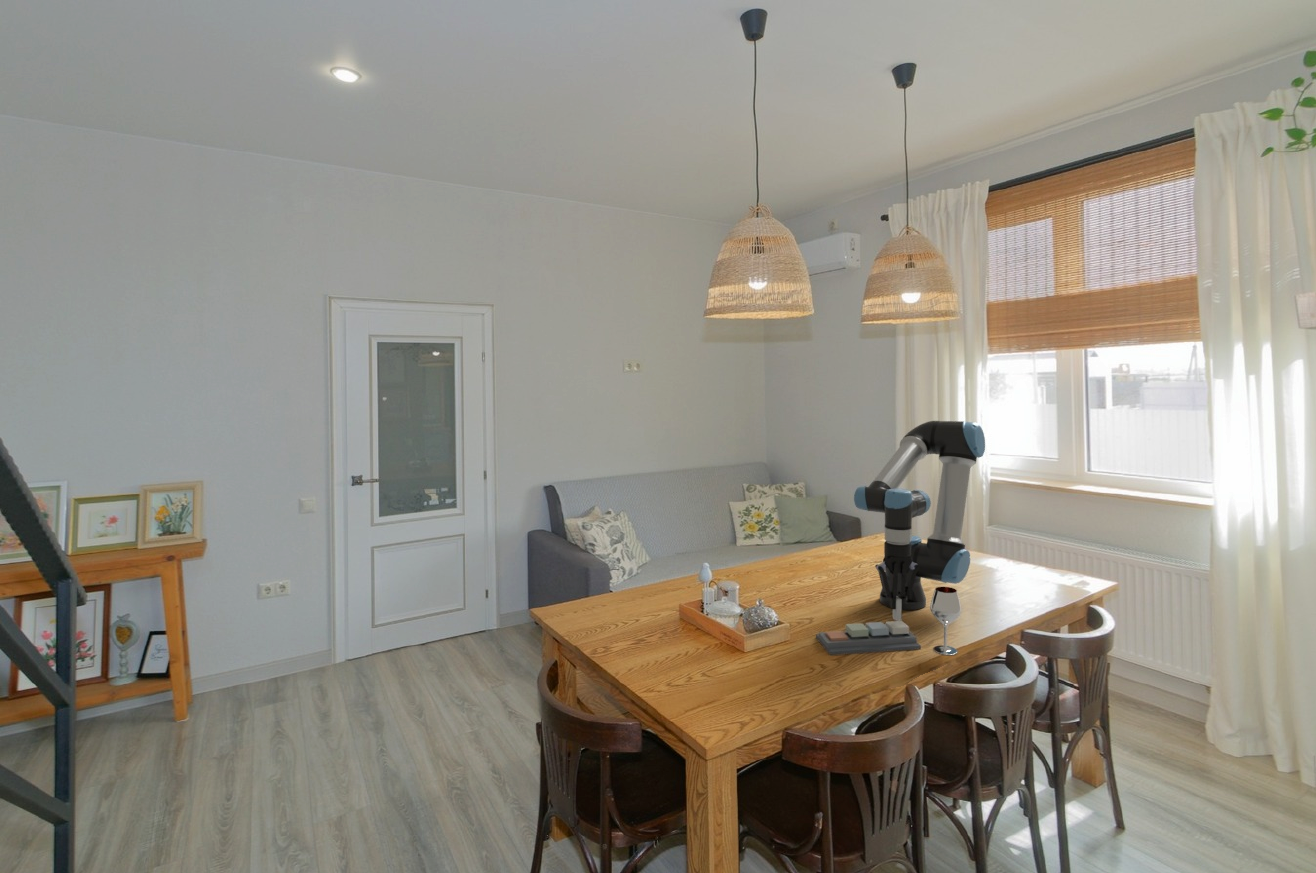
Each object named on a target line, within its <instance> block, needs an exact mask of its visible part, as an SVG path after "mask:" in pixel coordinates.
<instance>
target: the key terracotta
mask: <svg viewBox="0 0 1316 873" xmlns="http://www.w3.org/2000/svg"><path fill="white" fill-rule="evenodd" d="M842 631H843V630H837V631H836V630H835V631H825V632H826V636H827V637H828V639H829V640H830V641H842V640H848V637H847V636H846V635H845V634H844V633H843V632H842Z"/></svg>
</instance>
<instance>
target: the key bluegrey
mask: <svg viewBox="0 0 1316 873" xmlns="http://www.w3.org/2000/svg"><path fill="white" fill-rule="evenodd" d="M865 627H866V628H867V629H868V632H869V633H870V634H871V635H872V636H877V635H889V628H888V627H887V626H886V623H885V624H884V622H882V621H876V622H866V623H865Z"/></svg>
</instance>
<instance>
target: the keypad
mask: <svg viewBox="0 0 1316 873" xmlns="http://www.w3.org/2000/svg"><path fill="white" fill-rule="evenodd" d="M841 631H842V632H843V633H844V634H845V635H846V636H847V637H848V640H842V641H830V640H829V639H828V637H827V636H826V632H827V631H823V632H818V633H816V634H815V639H817V641H818V642H819V643H820V644H821V645H822V647H824V648H823V649H825V650H826V651H827V653H828V654H829V655H830V656H836V655H852V654H866V653H883V652H896V651H897V652H899V651H909V650H910V651H912V650H913V651H914V650H921V649H922V645H921V644H919V643H918V637H917V636H916V635H915V634H914V633H912V632H911V631H910V630H909V634H892V633H890V632H889V635H877V636H872V635H871V634H870V633H869V632H868V636H862V637H851V636H850V635H849V634H848V632H847V631H846V630H841Z"/></svg>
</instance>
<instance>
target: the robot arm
mask: <svg viewBox="0 0 1316 873" xmlns="http://www.w3.org/2000/svg"><path fill="white" fill-rule="evenodd" d="M985 438H986V437H985V433H984V430H983V428H982V426H981V425H980V424H979V423H977V422H973V421H972V422H970V421H966V420H964V421H961V420H960V421H957V420H955V421H954V420H953V421H952V420H950V421H949V420H948V421H947V420H931V421H926V422H924V423H921V424H919V425H917V426H916V427H914V428H912V429H911V430H909V432H907V433H906V434H905V435H904V436H903V437H902V439H901V440H900V441H899V447H898V448H897V450H896V451H895V452H894V454H893V455H892V456H891V457H890V459H889V460H888V462H886V464H885V465H884V467H883V468H882V469H881V470H880V472H879V473H878V474H877V476H876V477H875V478H874V480H873V481H872V482H871V483H870V484H869V485H868V486H867V485H865V486H858V487H857V488H856V490H855V492H854V493H853V494H854V495H853V500H854V501H853V502H854V506H855V507H856V508H857V510H862V511H866V512H873V513H875V512H876V513H881V514H884V544H883V545H884V546H883V547H884V553H883V554H884V557H883V559H882V562H881V563H880V564H875V569H876V570H877V571H878V575H879V579H880V584H881V587H882V588H881V590H880V592H879V602H880V604H882V605H883V606H886V607H887V608H890V609H891V610H892V619H893V620H894V621H902V611H914V610H922V609H923V608H924V607H926V606H927V597H926V594H925V591H924V589H923V585H922V579H926V580H931V581H937V582H942V583H944V584H953V585H955V584H959V583H962V581H963V580H964V578H965V577H966V576H967V574H968V572H969V568H970V564H971V553H970V551H969V550H968V549H966V543H965V542H964V541H963V539H962V533H963V525H964V520H965V519H964V516H965V511H966V510H965V509H966V503H967V497H968V488H969V481H970V474H971V467H973V466H974V465H976V464H977V458H981V457H983V456H984V454H985V452H986V451H985V450H986V439H985ZM927 455H939V456H938V460H939V461H940V462H941V463H942V468H941V475H940V481H939V488H938V489H939V490H938V496H937V505H936V512H935V516H934V518H935V519H934V524H933V533H932V534H931V535H930V536H928V537H927V541H926V542H923V541H922V537H920V536H918V535H912V527H913V526H912V520H913V518H916V517H920V516H923V515H924V514H926V513H927V512H928V511H929V510H930V507H931V505H932V503H931V502H932V501H931V498H930V497H929V494H927V493H926V492H925V491H923V490H917V489H916V490H915V489H914V490H909V489H907V488H906V489H905V488H899V487H900V486H901V484H902V483H903V482H904V481H905V479H906V478H907V477H908V475H909V474H910V473H911V471H912V470H913V468H914V467H915V466H916V465H917V463H918V462H919V461H920V460H923V459H925V458H926V456H927Z"/></svg>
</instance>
